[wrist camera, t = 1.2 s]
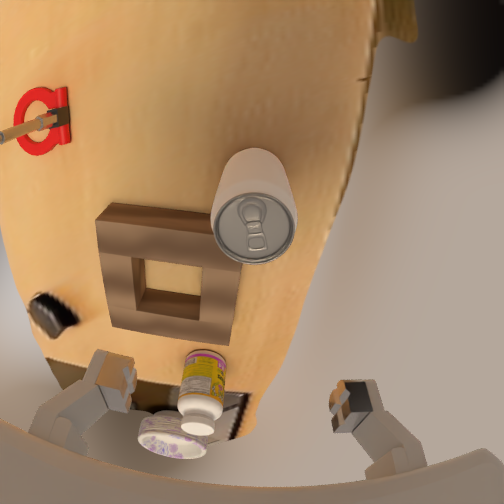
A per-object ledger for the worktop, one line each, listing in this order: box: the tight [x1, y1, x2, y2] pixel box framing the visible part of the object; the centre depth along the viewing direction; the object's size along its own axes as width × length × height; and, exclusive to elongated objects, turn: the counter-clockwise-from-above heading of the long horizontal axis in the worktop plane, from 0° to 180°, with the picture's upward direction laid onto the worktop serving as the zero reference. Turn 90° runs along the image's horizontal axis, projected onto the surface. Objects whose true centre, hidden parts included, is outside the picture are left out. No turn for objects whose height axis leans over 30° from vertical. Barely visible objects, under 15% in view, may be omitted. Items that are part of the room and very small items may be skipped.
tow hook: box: [0, 87, 70, 156], centre depth 21 cm, size 8×13×9 cm
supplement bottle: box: [178, 350, 226, 436], centre depth 42 cm, size 7×7×13 cm
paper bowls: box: [138, 410, 208, 459], centre depth 57 cm, size 15×15×8 cm
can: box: [211, 148, 298, 265], centre depth 26 cm, size 6×6×12 cm
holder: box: [95, 203, 242, 346], centre depth 35 cm, size 16×16×4 cm
